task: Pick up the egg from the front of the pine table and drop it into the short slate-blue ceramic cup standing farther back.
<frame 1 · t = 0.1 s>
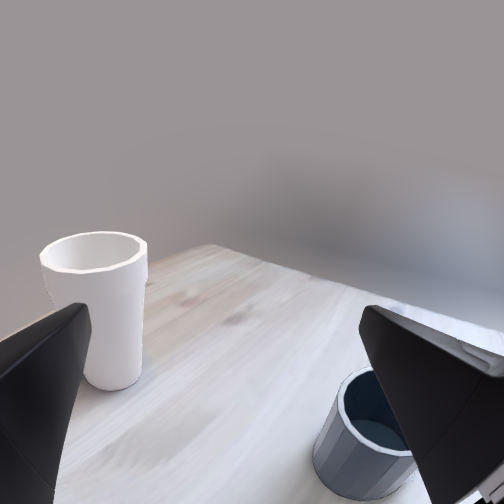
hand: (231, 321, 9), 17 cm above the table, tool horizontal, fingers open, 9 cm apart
cup: (363, 457, 19), on the table
foam cup: (112, 370, 27), on the table
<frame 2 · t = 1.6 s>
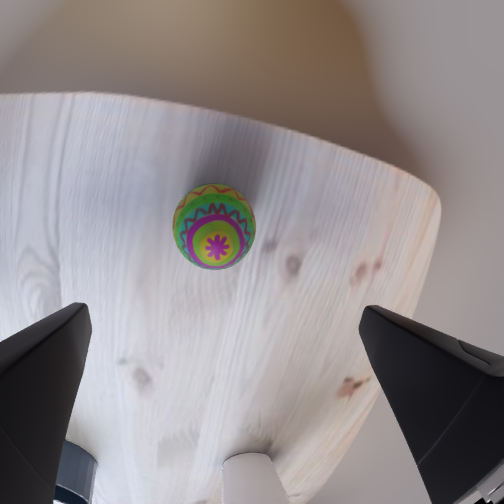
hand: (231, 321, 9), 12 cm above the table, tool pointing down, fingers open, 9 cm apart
cup: (66, 454, 28), on the table
egg: (212, 215, 20), on the table
foam cup: (246, 462, 32), on the table
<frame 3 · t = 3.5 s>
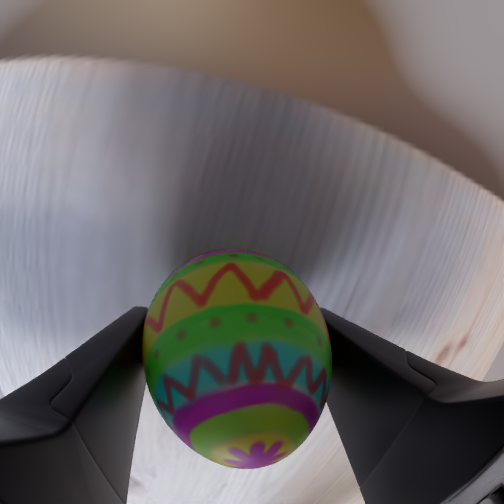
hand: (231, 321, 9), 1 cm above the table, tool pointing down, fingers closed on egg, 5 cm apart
egg: (226, 298, 10), on the table, touching gripper
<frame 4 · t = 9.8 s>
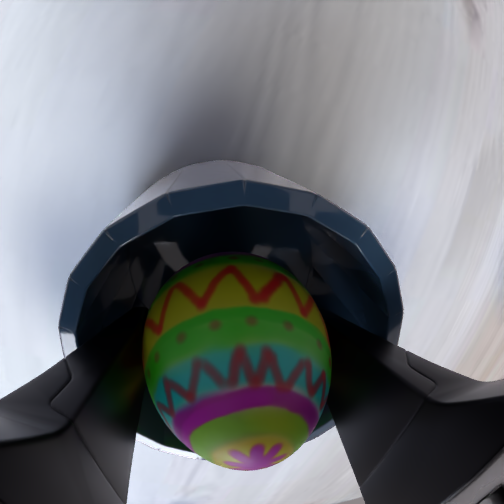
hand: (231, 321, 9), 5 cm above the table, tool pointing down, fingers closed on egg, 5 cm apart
cup: (220, 263, 13), on the table
egg: (226, 300, 10), point 3 cm above the table, touching gripper
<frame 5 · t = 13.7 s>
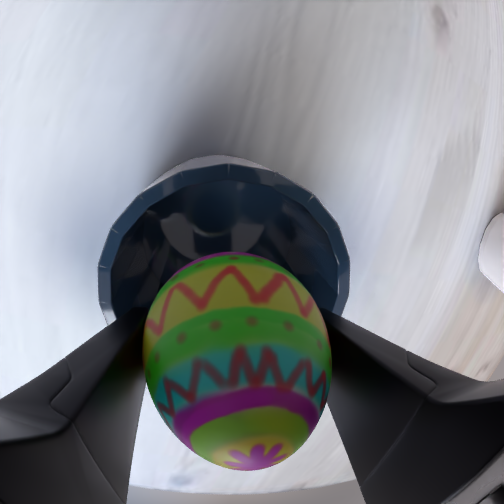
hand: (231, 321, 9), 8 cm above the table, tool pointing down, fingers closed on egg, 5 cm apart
cup: (216, 237, 17), on the table
egg: (226, 300, 10), point 7 cm above the table, touching gripper
foam cup: (495, 244, 21), on the table
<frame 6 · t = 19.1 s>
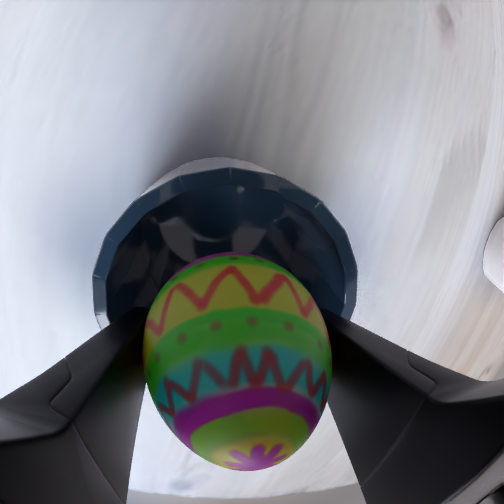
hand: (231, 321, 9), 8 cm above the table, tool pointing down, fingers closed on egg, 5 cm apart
cup: (217, 242, 16), on the table
egg: (226, 300, 10), point 6 cm above the table, touching gripper
foam cup: (500, 247, 20), on the table
when the fingers open (8 cm above the table, at t = 23.9 s): egg drops 7 cm, resting on cup.
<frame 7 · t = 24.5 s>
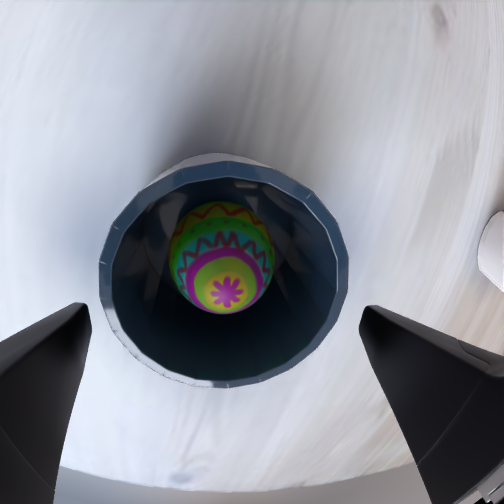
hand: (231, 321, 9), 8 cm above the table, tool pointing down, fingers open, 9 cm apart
cup: (216, 234, 17), on the table
egg: (218, 237, 16), resting on cup
foam cup: (494, 242, 21), on the table
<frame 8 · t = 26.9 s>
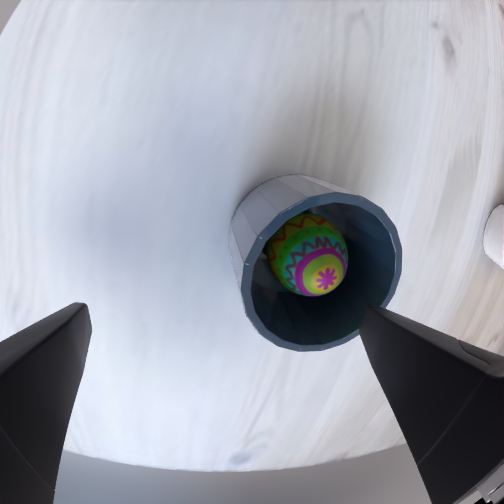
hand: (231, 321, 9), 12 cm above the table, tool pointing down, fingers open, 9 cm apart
cup: (292, 238, 21), on the table
egg: (294, 239, 21), resting on cup
foam cup: (496, 230, 25), on the table
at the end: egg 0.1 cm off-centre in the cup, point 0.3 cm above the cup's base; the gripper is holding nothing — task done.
